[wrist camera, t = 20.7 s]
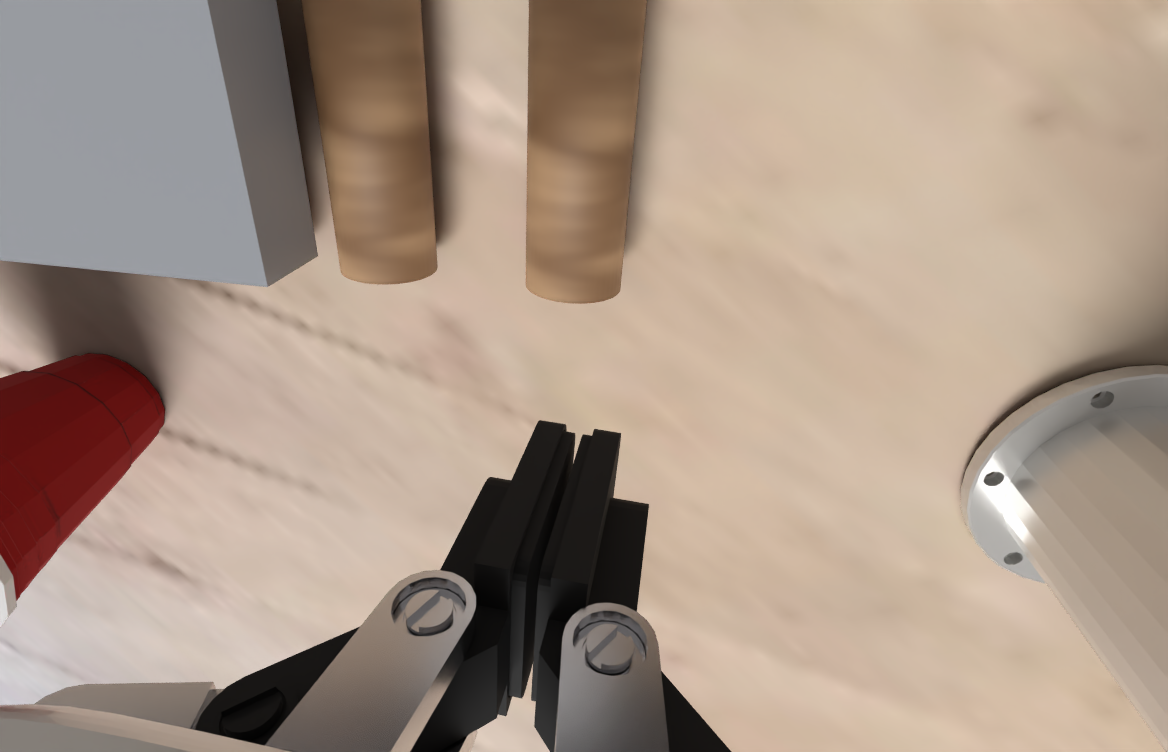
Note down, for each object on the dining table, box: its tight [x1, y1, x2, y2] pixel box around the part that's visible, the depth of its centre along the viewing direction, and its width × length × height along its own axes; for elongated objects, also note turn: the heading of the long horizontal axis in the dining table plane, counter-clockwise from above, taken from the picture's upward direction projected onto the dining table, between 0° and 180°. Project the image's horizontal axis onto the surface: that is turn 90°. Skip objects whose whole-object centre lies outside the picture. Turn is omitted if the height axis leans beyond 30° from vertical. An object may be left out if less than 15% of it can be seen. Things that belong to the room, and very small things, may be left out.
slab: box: [0, 0, 318, 287], centre depth 20 cm, size 16×10×4 cm, turn 87°
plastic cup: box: [0, 353, 165, 628], centre depth 29 cm, size 11×11×12 cm
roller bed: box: [301, 0, 647, 304], centre depth 23 cm, size 18×12×4 cm, turn 87°
